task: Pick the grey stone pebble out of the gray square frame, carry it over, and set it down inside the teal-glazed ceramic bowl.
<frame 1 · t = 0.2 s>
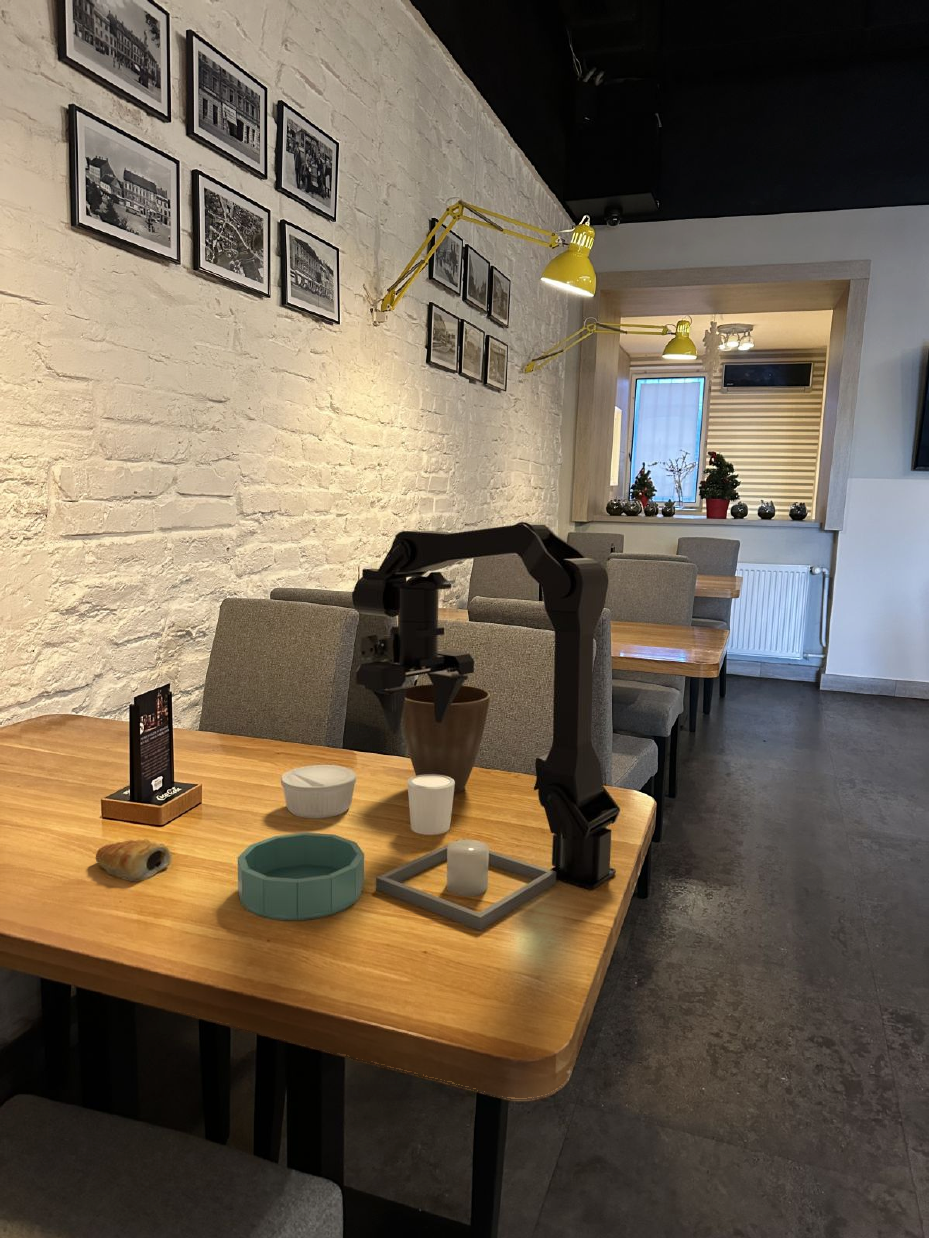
hand: (416, 727, 121), 14 cm above the table, fingers open, 9 cm apart
gray square frame: (467, 886, 102), on the table
ramekin: (318, 809, 129), on the table
plant pot: (442, 788, 139), on the table
white cup: (430, 828, 122), on the table
pastry: (133, 871, 106), on the table
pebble: (467, 867, 102), in the gray square frame
bowl: (301, 891, 100), on the table
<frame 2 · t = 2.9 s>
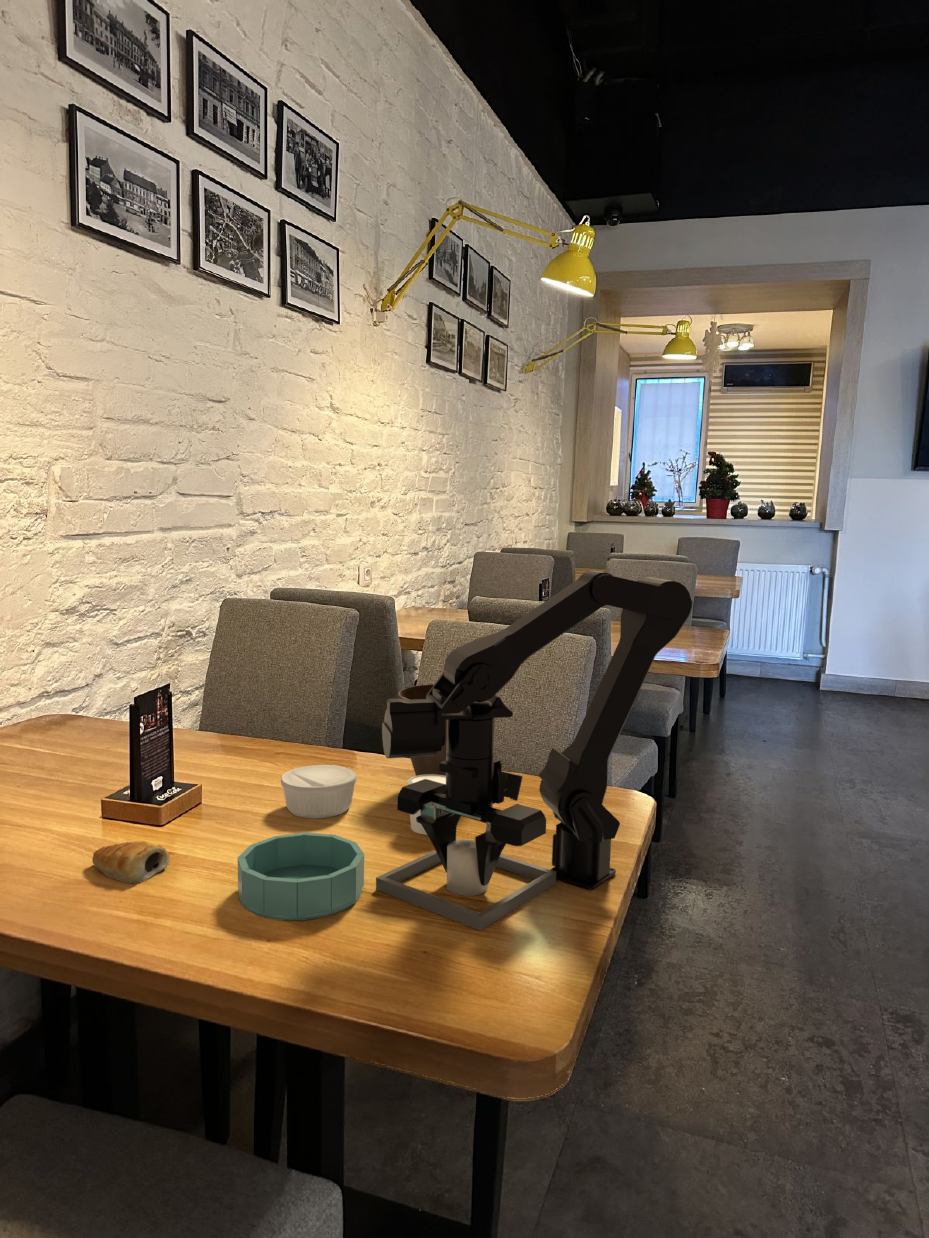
hand: (467, 878, 102), 1 cm above the table, fingers closed on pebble, 5 cm apart
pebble: (467, 866, 102), in the gray square frame, touching gripper
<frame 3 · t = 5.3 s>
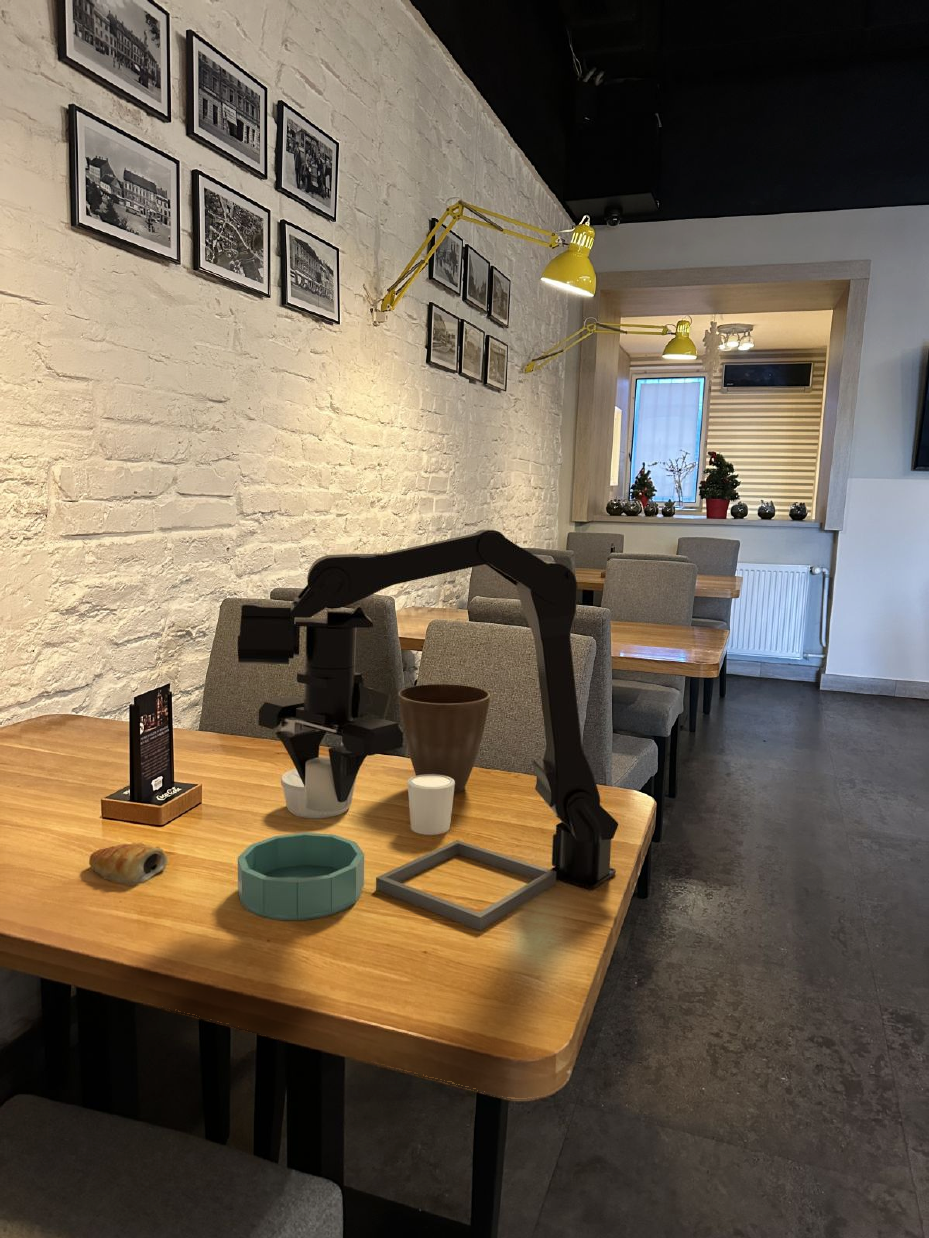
hand: (326, 796, 99), 12 cm above the table, fingers closed on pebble, 5 cm apart
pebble: (326, 783, 99), point 13 cm above the table, touching gripper
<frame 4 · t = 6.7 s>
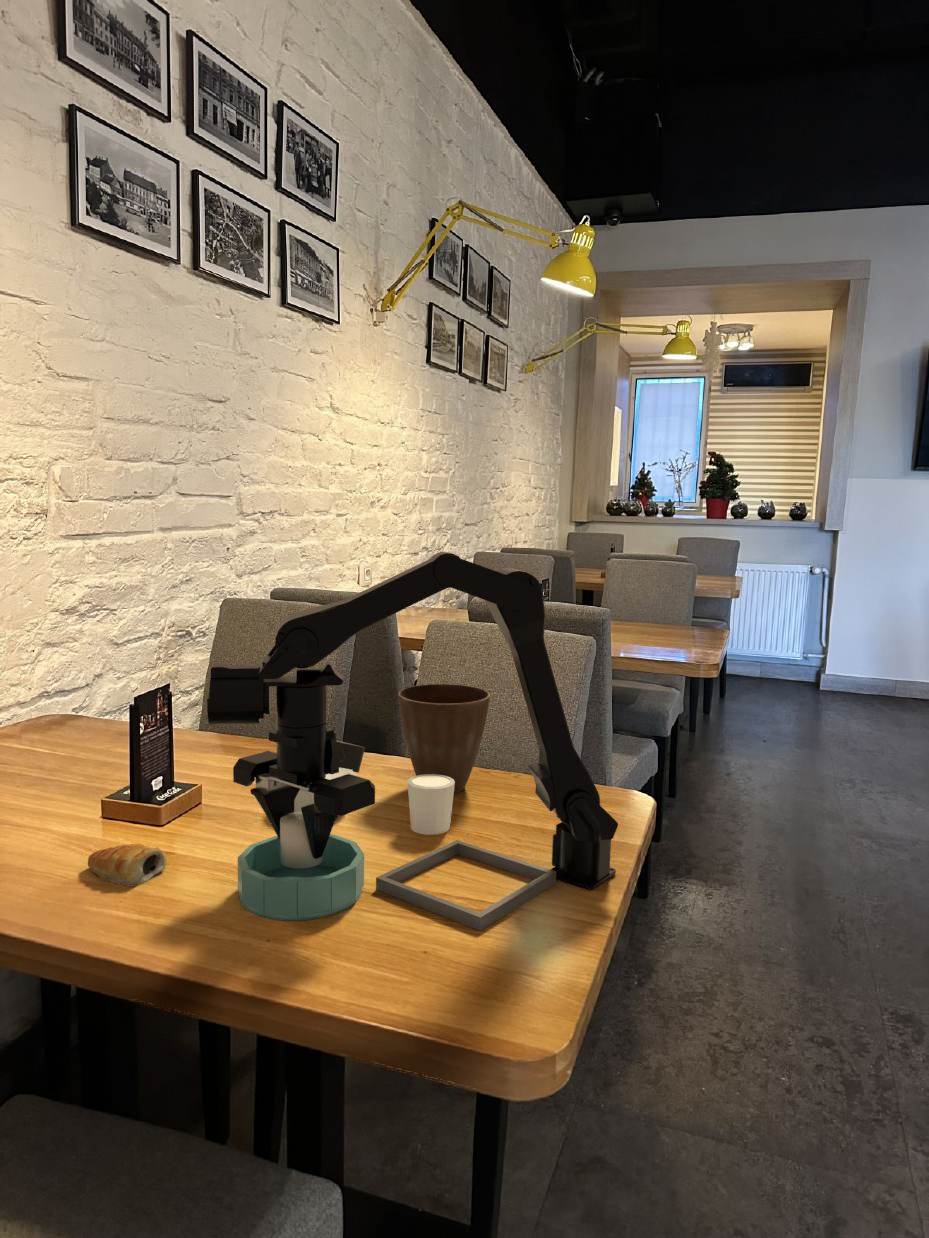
hand: (302, 851, 99), 5 cm above the table, fingers closed on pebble, 5 cm apart
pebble: (301, 839, 99), point 6 cm above the table, touching gripper
when the fingers open (3 cm above the table, at t = 7.9 s): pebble drops 1 cm, resting on bowl.
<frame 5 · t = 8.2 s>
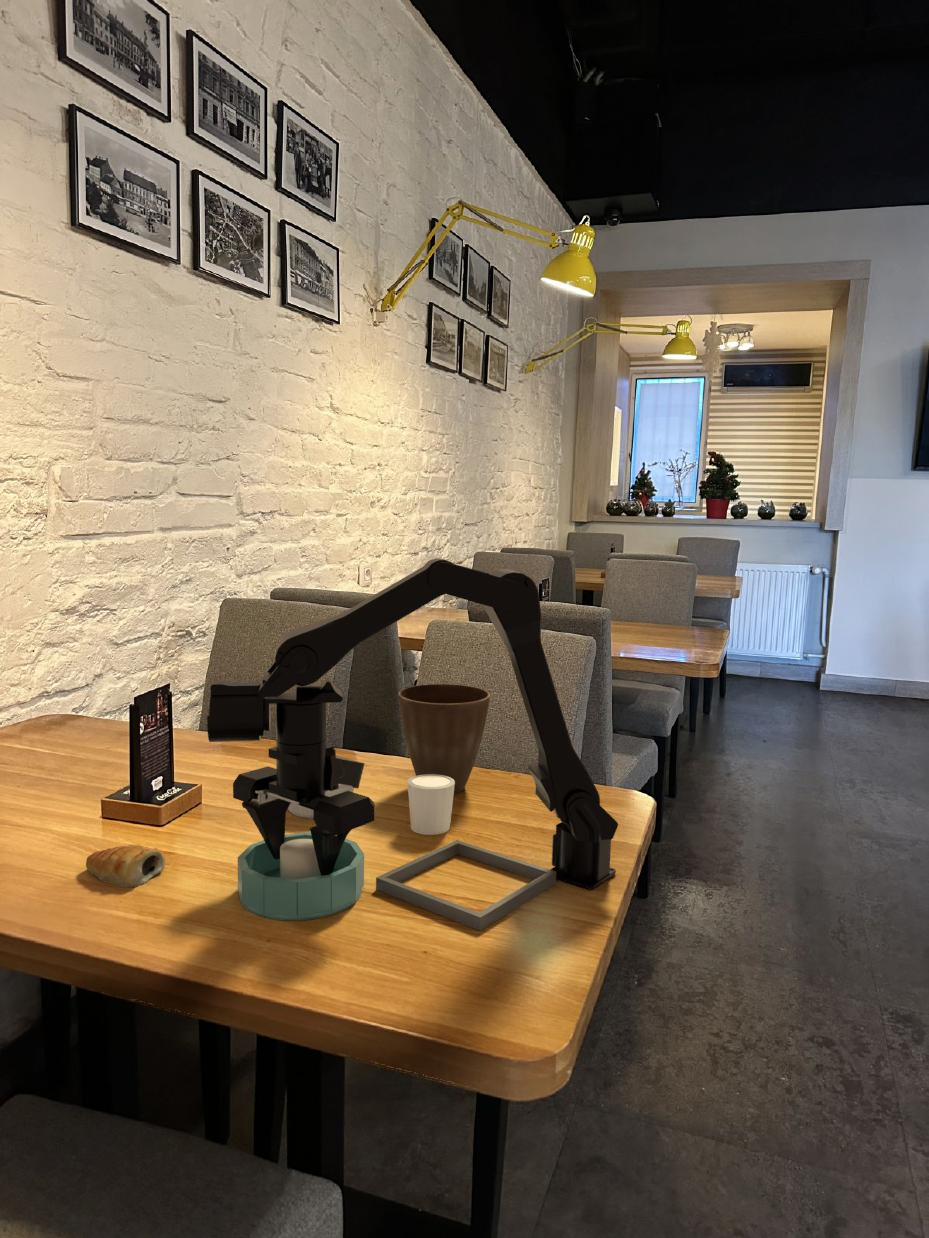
hand: (301, 867, 100), 3 cm above the table, fingers open, 8 cm apart
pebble: (301, 867, 99), in the bowl, point 3 cm above the table
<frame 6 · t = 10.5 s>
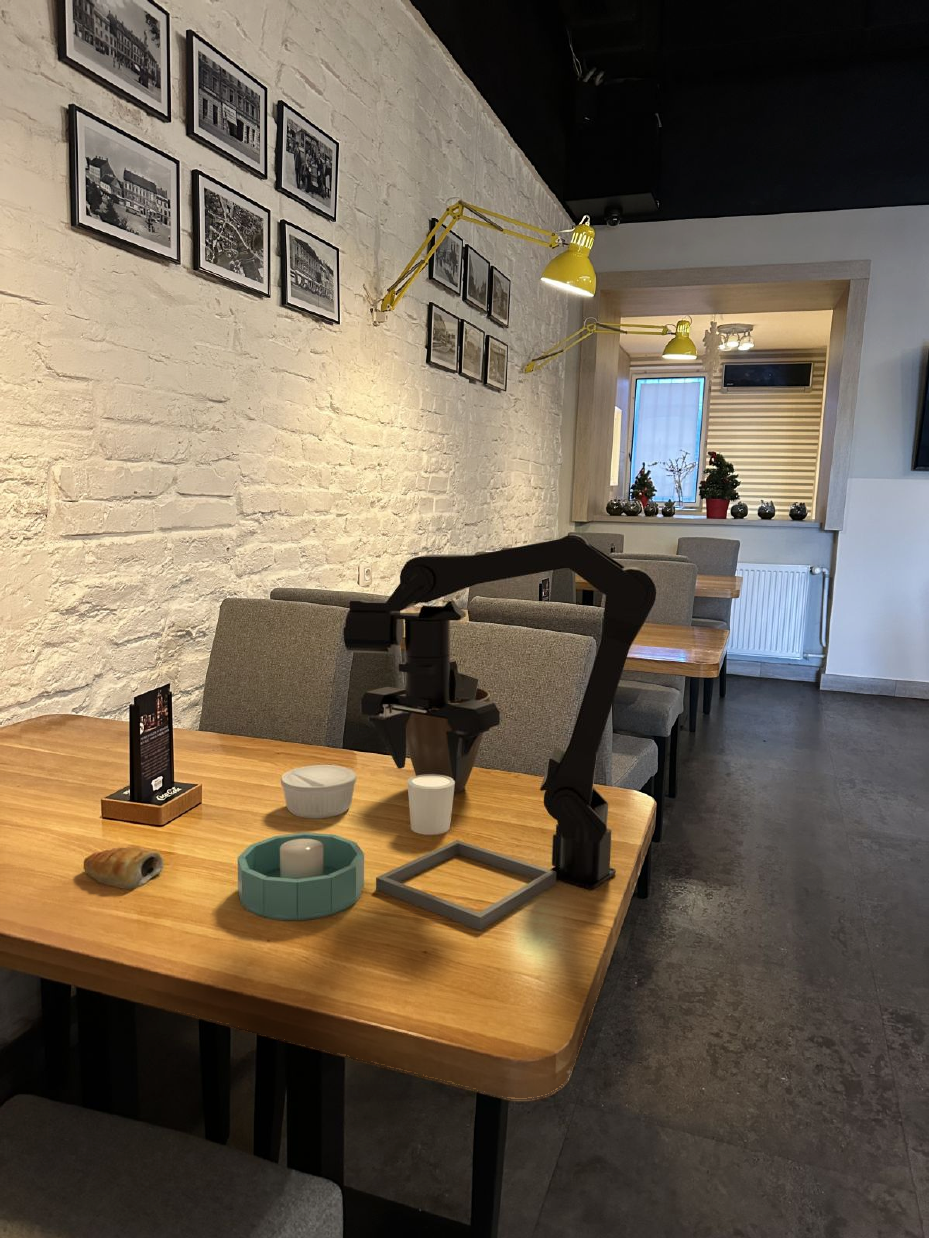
hand: (428, 773, 109), 12 cm above the table, fingers open, 9 cm apart
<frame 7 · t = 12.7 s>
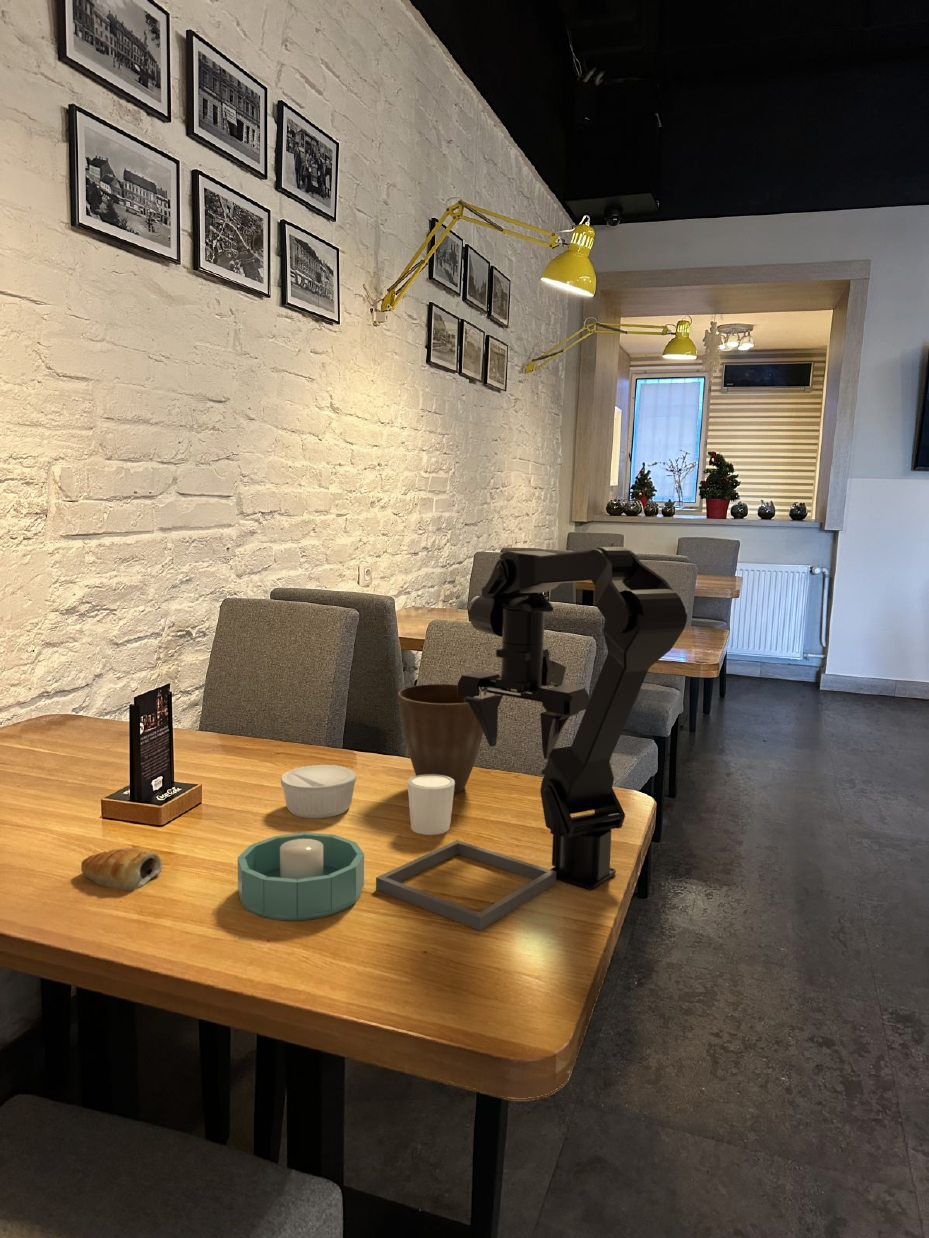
hand: (519, 752, 118), 12 cm above the table, fingers open, 9 cm apart
at the end: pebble inside the target area on the bowl (0.1 cm from its centre), point 3.1 cm above the bowl's base; the gripper is holding nothing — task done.
